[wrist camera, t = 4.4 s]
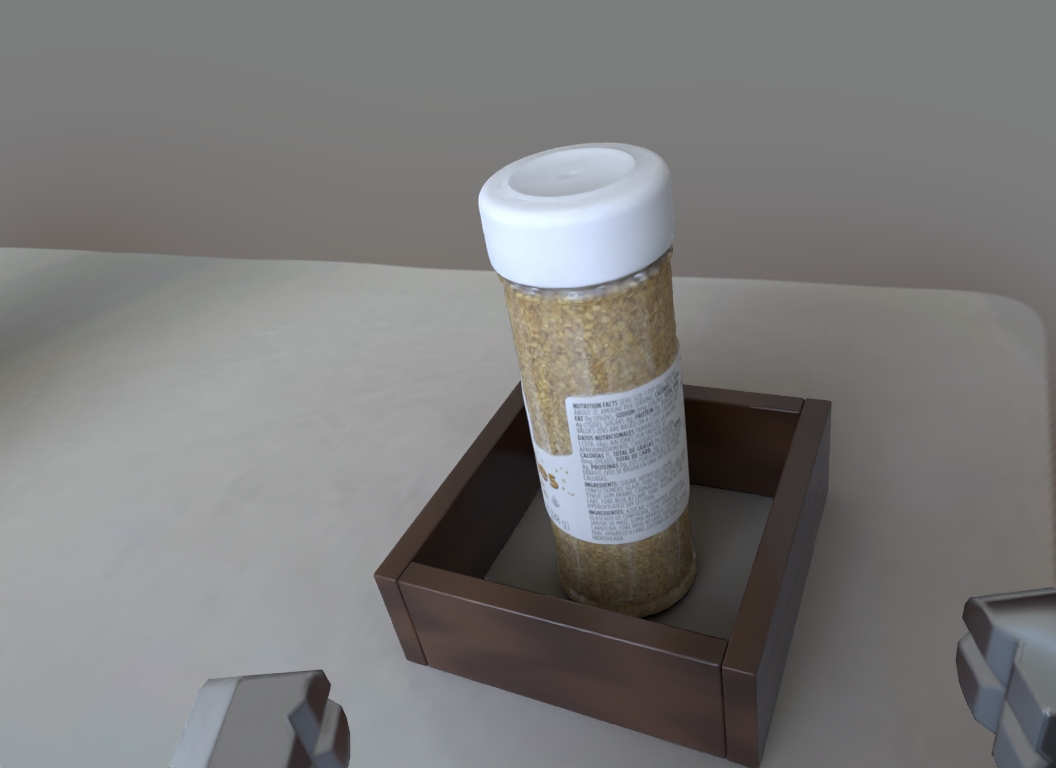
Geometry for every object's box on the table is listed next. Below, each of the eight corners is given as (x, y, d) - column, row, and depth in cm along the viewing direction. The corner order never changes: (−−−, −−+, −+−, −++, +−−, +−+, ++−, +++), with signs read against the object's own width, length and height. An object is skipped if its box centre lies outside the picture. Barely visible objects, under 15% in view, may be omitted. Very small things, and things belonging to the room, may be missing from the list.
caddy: (406, 660, 25) (371, 574, 23) (546, 445, 33) (530, 365, 31) (758, 771, 21) (756, 675, 18) (828, 490, 28) (832, 400, 26)
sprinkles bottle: (550, 535, 29) (470, 158, 21) (679, 509, 28) (645, 123, 21) (569, 641, 25) (480, 227, 17) (719, 611, 25) (693, 184, 17)
